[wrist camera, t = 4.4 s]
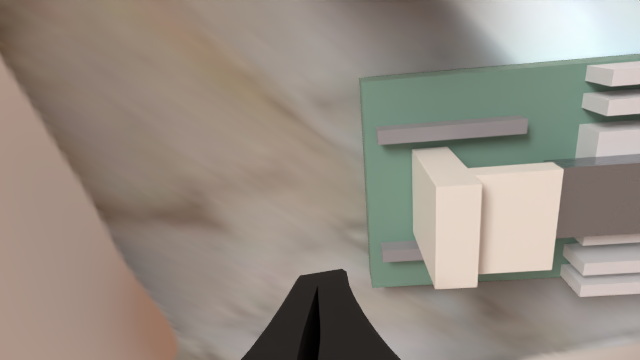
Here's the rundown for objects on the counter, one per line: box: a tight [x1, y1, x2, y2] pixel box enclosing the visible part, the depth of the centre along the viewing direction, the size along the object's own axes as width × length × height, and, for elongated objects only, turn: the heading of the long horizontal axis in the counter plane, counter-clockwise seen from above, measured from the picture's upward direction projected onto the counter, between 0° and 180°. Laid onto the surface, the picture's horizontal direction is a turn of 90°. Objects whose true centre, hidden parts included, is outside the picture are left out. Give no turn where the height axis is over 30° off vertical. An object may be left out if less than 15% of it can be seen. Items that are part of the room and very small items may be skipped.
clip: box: [412, 147, 564, 289], centre depth 16 cm, size 4×4×4 cm
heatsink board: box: [359, 54, 640, 297], centre depth 18 cm, size 20×10×4 cm, turn 95°
